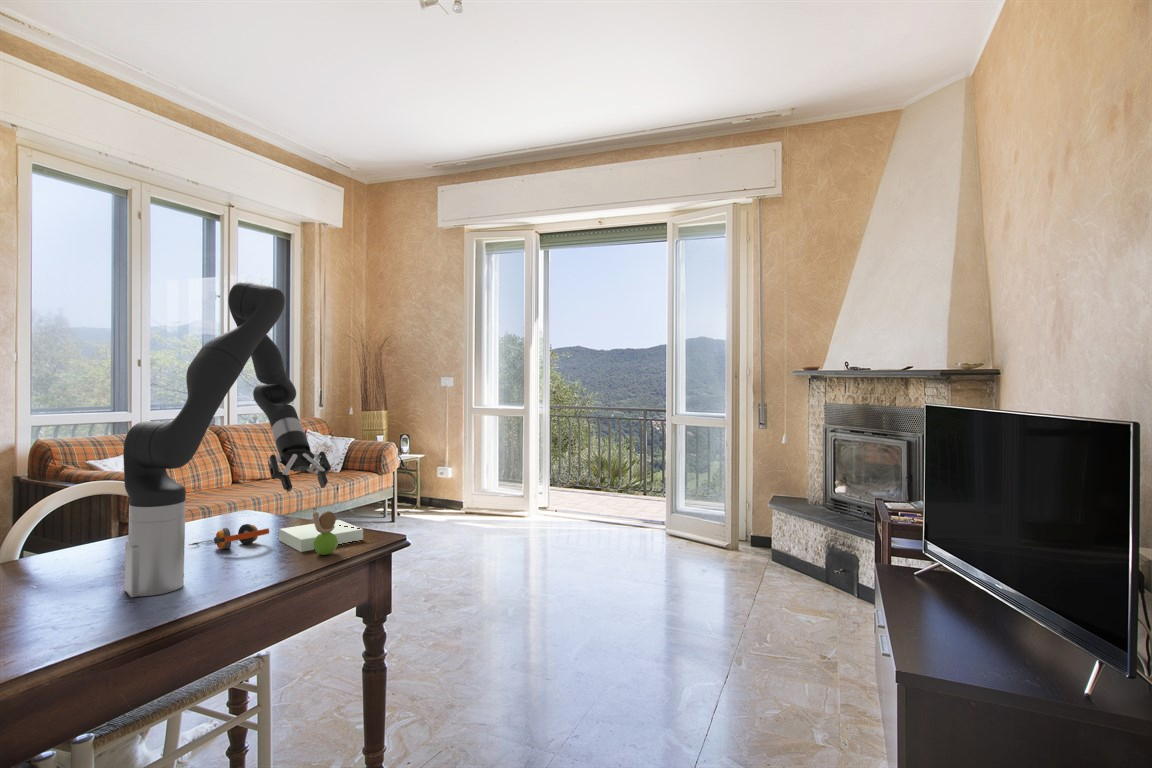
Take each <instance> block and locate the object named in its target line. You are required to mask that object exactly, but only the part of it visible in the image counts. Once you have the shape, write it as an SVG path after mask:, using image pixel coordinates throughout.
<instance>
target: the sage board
mask: <svg viewBox="0 0 1152 768" xmlns="http://www.w3.org/2000/svg"><path fill="white" fill-rule="evenodd" d="M339 525H341V526H339ZM334 526H335V527H334V529H333V530H332V531H331V533H333V534H334V535H335V536H336V537H337V540H338V544H342V543H347V542H352V541H358V540H363V541H364V528H361V527H358V526H356V525H354V524H350V523H348V522H346V521H344V520H340V519H336V522H335V524H334ZM344 526H348V527H344ZM351 527H354V528H351ZM357 528H360V529H357ZM278 530H279V531H278V533H279V535H278V540H279V541H280V542H281V543H283V544H284V545H287V546H288V547H291V548H292V549H295V550H296V551H298V552H300V553H303V552H308V551H315V550H314V545H313V544H314V540H315V538H316V537H317V536H318V535H319V534H321V533H320V532H318V531H317V530H316V527H315V524H314V523H309V524H308V523H307V524H303V525H296V526H289V527H282V528H279V529H278ZM358 542H359V541H358ZM347 544H348V543H347ZM342 545H343V544H342Z"/></svg>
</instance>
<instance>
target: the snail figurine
mask: <svg viewBox="0 0 1152 768" xmlns="http://www.w3.org/2000/svg"><path fill="white" fill-rule="evenodd" d="M312 510H313V511H312V512H313V513H312V517H313V524H315V527H316V530H317V531H318V532H320V533H321V534H319V535H318V536H317V537H316V538H315V540H314V544H313V545H314V549H315V550H314V552H316V553H317V554H319V555H321V556H328V555H331V554H333V553H334V551H336V550H337V547H338V546H339V545H338V540H337V537H336V536H335V535H334V534H333V533H331V531H332V530H333V529H334V527H335V526H334V524H335V522H336V520H337V517H336V514H335V513H334V512H333V511H329V510H328V511H324V512H323V513H322V514H321V515H320V513H319V512H318V511H317V510H318V508H317V507H312Z"/></svg>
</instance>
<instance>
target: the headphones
mask: <svg viewBox="0 0 1152 768" xmlns="http://www.w3.org/2000/svg"><path fill="white" fill-rule="evenodd" d="M268 534H270V529H269V528H264V529H258V528H257V526H256V525H253V524H251V523H245V524H241V526H240V527H239V529H238V532H237V534H233V535H231V531H230V529H229V528H228V527H224V528H222V529H220V530H217V532H216V533H215V537H213V539H208V540H204V541H197V542H192V543H189V544H188V546H195V545H199V544H202V543H208V542H214V545H216V547H217V548H218V549H220V550H222V549H224V550H229V549H230V548H231V546H232V542H235V541H239V542H240V543H241V544H242V545H244V546H249V545H251V544H253V543H254V542H255V541H257V540H258V537H259V536H265V535H268Z"/></svg>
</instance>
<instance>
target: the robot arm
mask: <svg viewBox="0 0 1152 768" xmlns="http://www.w3.org/2000/svg"><path fill="white" fill-rule="evenodd" d="M285 300H286V299H285V295H284V292H282V290H281V289H278V288H276V287H273V286H270V285H265V284H259V283H255V282H249V281H238V282H236V283H235V284H233V286H232V287H231V289H230V290H229V294H228V299H227V301H228V302H227V304H228V309H229V311H230V314H231V317H232V319H233V321H234V323H235V325H236V327H235V328H234V329H231V330H229V331H227V332H224V333H223V334H220V335H218V336H216V337H214V338H213V339H210V340H209V341H207V342H206V343H205V344H204V345H203V346H202V347H201V348H200V350H199V351H198V352H197V354H196V355H195V356H194V358H193V359H192V361H191V362H190V363H189V365H188V368H187V371H186V376H185V377H186V388H187V389H186V390H187V399H186V402H185V403H184V406H183V407H182V408H181V410H180V411H179V413H178V414H177V415H176V417H175V418H174V419H173V420H172V421H140V422H137V423H136V424H134V425H133V426H132V427H131V428H130V429H129V430H128V431H127V433H126V435H125V438H124V443H123V453H122V454H123V459H122V460H123V475H124V478H123V479H124V482H123V483H124V489H125V491H126V493H127V495H128V503H129V504H128V505H129V506H128V538H127V540H128V541H126V542H125V553H124V554H125V557H124V560H125V561H124V591H125V592H126V593H127V595H128V596H129V598H136V597H152V596H158V595H163V594H167V593H170V592H174V591H177V590H179V589H181V588H182V587H183V586H184V581H185V580H184V579H185V543H186V542H185V539H186V538H185V537H186V535H185V534H186V498H187V497H186V496H187V495H186V494H187V493H186V492H187V491H186V488H185V485H182V484H181V483H178V482H177V481H175V480H174V479H173V478H171V476H169V475H168V473H167V470H175V469H179V468H182V467H184V466H186V465H187V464H188V463H189V462H191V461H192V459H193V458H194V457H195V454H196V453H197V451H198V450H199V447H200V445H201V443H202V441H203V439H204V437H205V435H206V433H207V431H208V428H209V427H210V424H211V423H212V421H213V419H214V416H215V415H216V412H217V411H218V409H219V408H220V406H221V404H222V403H223V401H224V399H225V397H226V396H227V394H228V393H229V391H230V390H231V389H232V387H233V386H234V384H235V382H236V381H237V379H238V378H239V376H240V375H241V373H242V372H243V369H245V366H246V364H247V363H248V361H249V359H250V358H251V361H252V363H253V364H252V365H253V368H254V372H255V373H254V374H255V376H256V379H257V380H258V381H259V382H260V384H257V385H256V386H255V387H254V389H253V391H252V396H253V399H254V401H255V403H256V405H258V407H259V408H260V409H261V411H262V412H263V413H264V414H265V416H266V418H267V419H268V422H269V424H270V428H271V430H272V431H271V432H272V437H273V441H274V443H275V444H274V445H275V446H276V450H277V453H278V456H276V455H275V454H271V455H270V456H269V458H268V461H267V466H268V469H269V473H270V478H271V479H272V480H277V479H278V480H280V481H281V485H282V489H283V490H284V491H286V493H289V492H291V491H292V489H293V483H292V482H291V481H292V480H291V479H290V478H291V477H290V475H289V474H290V472H291V471H292V472H294V473H296V472H304V471H307V472H308V473H310V474H314V475H315V476H317V480H318V483H319V486H320V489H324V488H325V487H326V486H327V484H328V478H327V475H328V474H329V472H330V470H331V468H332V467H331V464H330V462H329V460H328V456H326V453H325V452H324V451H320V452H319V453H313V452H312V451H311V446H310V444H309V443H310V442H309V441H308V437H307V435H306V432H305V430H304V427H303V425H302V423H301V422H300V419H299V416H298V412H297V411H296V408H295V407H294V406H293V405H292V404H290V403H292V402H293V401H295V399H296V398H297V390H296V387H295V385H294V383H293V382H292V380H290V378H289V376H288V375H287V373H286V371H285V367H284V362H283V361H284V360H283V356H282V353H281V351H280V349H279V347H278V346H277V344H276V343H275V342H274V341H273V340H272V339H271V338H270V336H269V335H268V334H269V332H270V330H271V329H272V328H273V327H274V326H275V324H276V323H277V322H278V321H279V318H281V315H282V313H283V310H284V307H285V302H286V301H285ZM279 463H280V464H281V465H283V466H284V469H283V470H282V471H280V469H279ZM311 465H312V466H311Z"/></svg>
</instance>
